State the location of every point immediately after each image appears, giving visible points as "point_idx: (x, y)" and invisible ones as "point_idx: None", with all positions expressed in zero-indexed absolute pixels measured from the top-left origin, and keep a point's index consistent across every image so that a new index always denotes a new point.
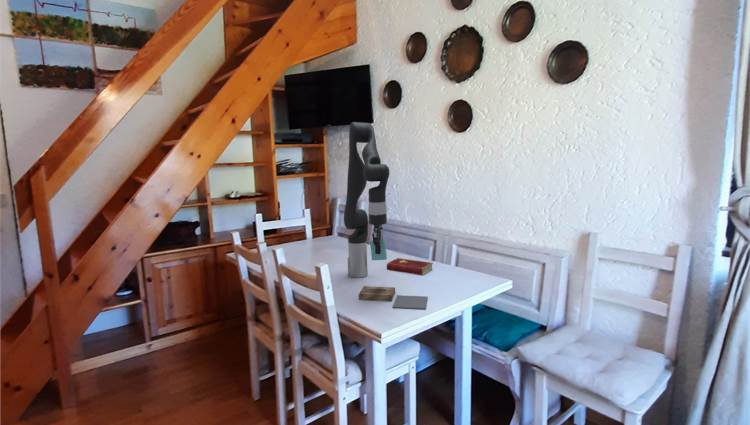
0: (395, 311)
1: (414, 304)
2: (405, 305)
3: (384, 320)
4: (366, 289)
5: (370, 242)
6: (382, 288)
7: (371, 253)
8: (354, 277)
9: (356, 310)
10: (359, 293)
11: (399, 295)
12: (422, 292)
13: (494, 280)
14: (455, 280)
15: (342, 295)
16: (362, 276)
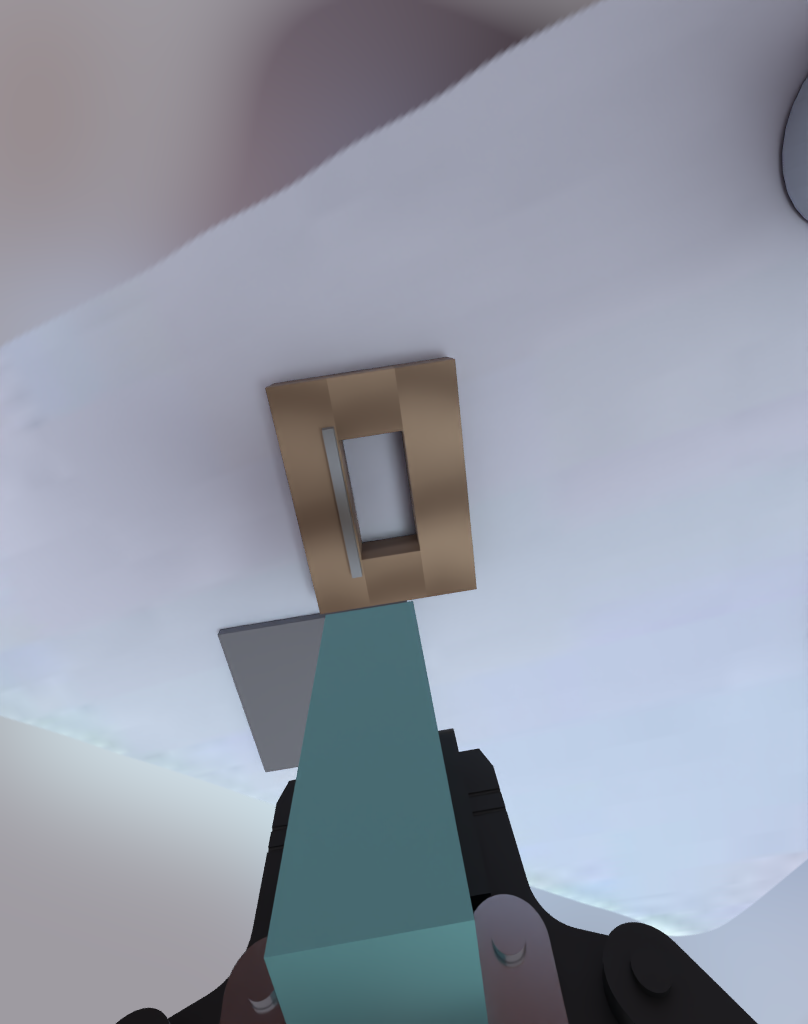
0: (182, 655)
1: (294, 720)
2: (263, 687)
3: (36, 643)
4: (381, 411)
5: (273, 933)
6: (433, 518)
7: (314, 685)
8: (789, 118)
9: (81, 444)
10: (274, 390)
11: None
12: (506, 697)
13: (717, 904)
14: (716, 785)
15: (313, 203)
16: (799, 202)
